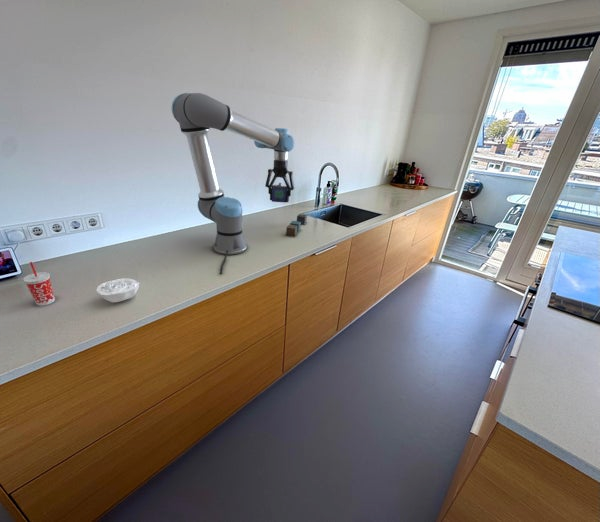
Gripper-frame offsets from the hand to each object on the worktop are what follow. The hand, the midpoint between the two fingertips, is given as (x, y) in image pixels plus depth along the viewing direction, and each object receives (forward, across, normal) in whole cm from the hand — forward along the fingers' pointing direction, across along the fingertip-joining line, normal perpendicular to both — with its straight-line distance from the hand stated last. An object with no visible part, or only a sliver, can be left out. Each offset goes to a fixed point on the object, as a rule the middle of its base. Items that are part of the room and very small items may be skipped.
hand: (279, 200), depth 165 cm
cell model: (+15, +26, +92) cm, 97 cm away
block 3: (+15, -12, -11) cm, 22 cm away
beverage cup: (+15, +46, +101) cm, 112 cm away
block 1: (+15, -11, +4) cm, 19 cm away
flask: (+1, 0, 0) cm, 1 cm away
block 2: (+15, -11, +11) cm, 22 cm away
